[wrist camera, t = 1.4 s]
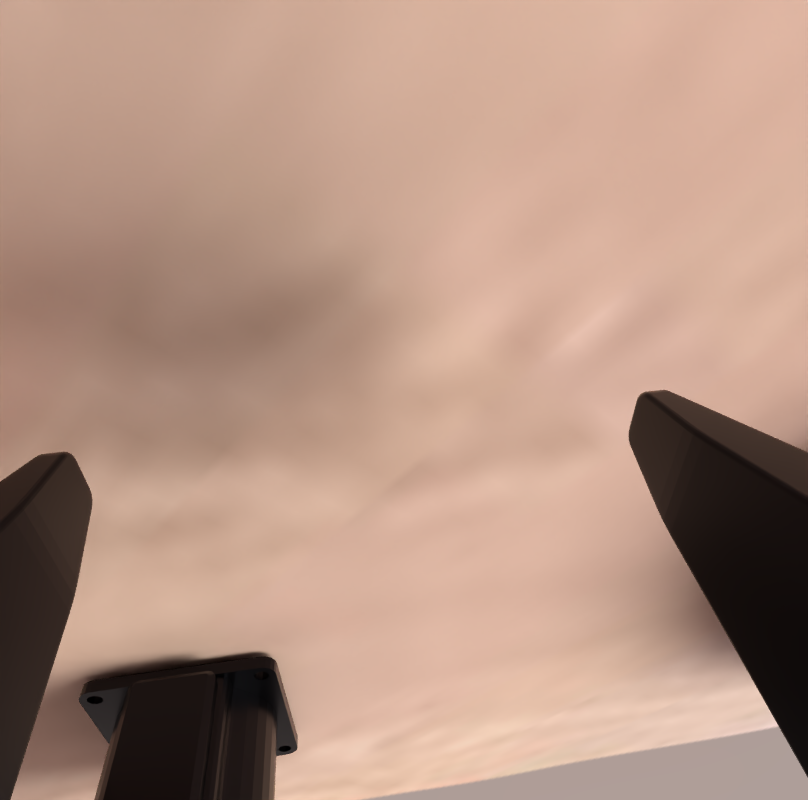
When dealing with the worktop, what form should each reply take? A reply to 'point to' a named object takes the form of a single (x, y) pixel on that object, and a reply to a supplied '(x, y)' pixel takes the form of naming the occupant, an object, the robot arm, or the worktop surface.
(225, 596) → the worktop surface
